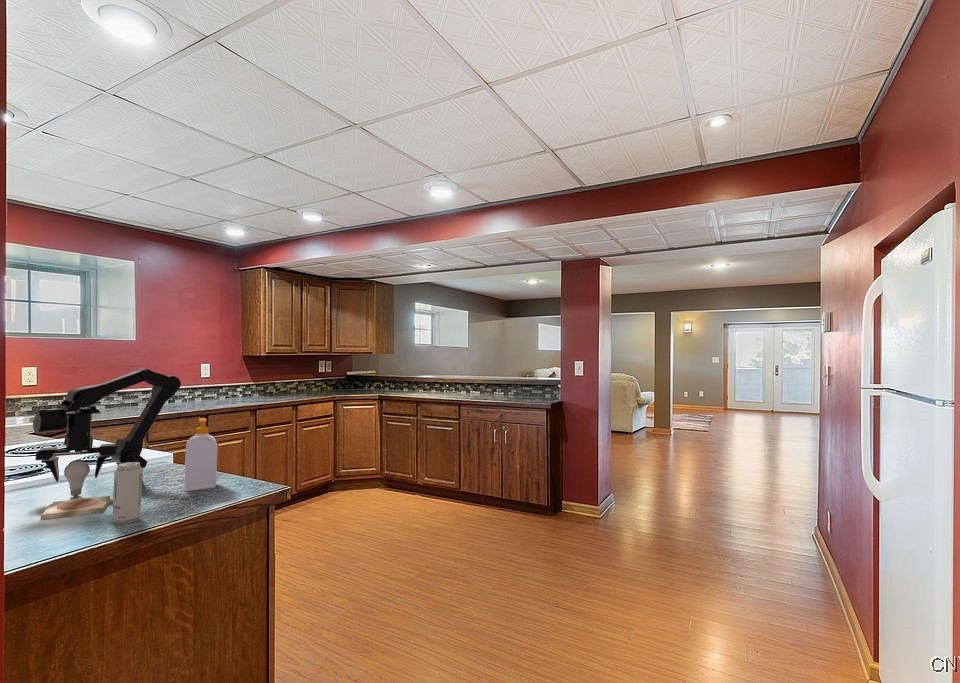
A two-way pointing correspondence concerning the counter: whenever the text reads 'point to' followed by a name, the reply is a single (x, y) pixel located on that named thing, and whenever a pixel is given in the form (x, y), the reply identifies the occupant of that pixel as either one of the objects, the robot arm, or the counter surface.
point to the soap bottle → (200, 460)
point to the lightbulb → (76, 476)
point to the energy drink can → (127, 492)
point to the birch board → (76, 507)
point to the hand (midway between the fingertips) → (77, 479)
